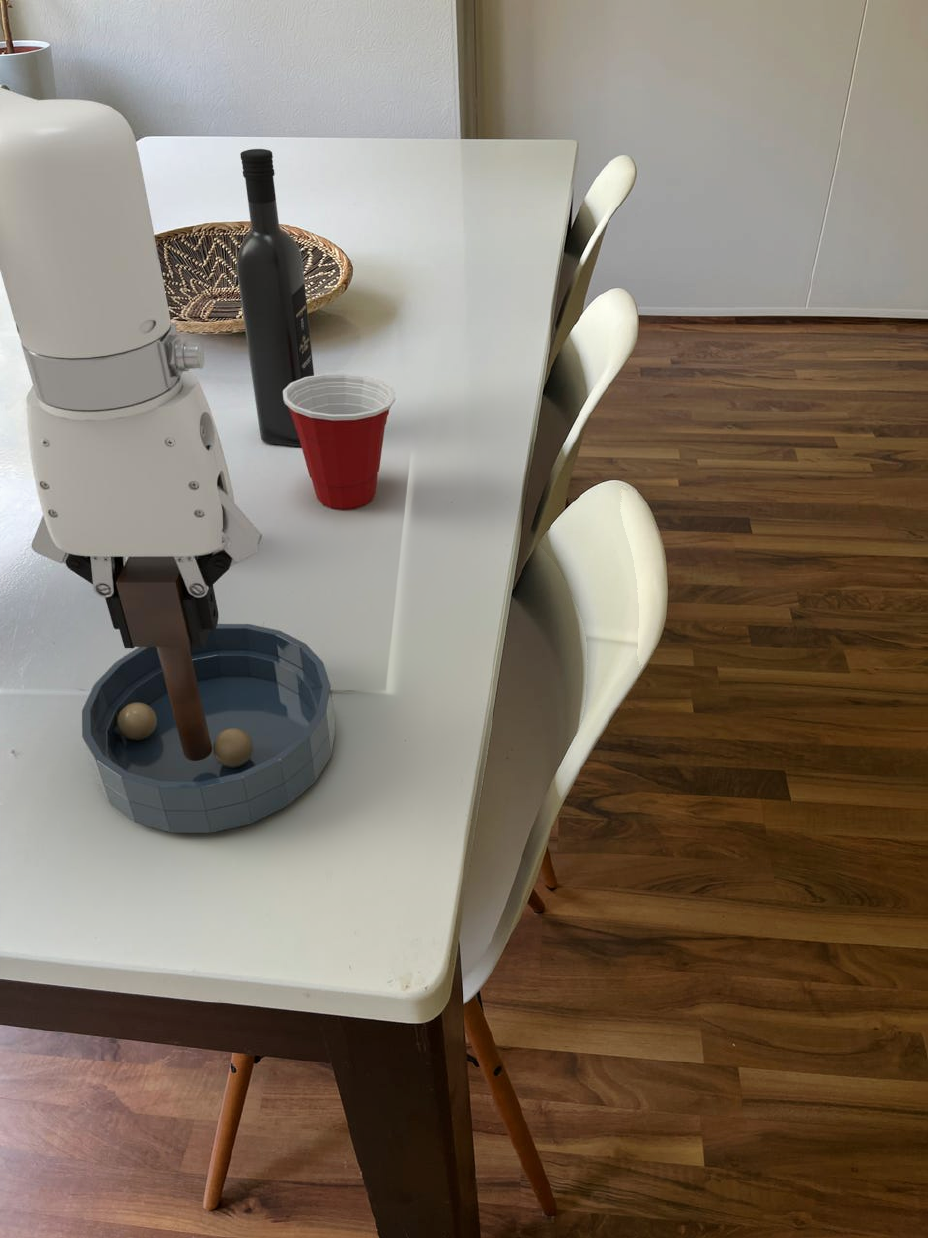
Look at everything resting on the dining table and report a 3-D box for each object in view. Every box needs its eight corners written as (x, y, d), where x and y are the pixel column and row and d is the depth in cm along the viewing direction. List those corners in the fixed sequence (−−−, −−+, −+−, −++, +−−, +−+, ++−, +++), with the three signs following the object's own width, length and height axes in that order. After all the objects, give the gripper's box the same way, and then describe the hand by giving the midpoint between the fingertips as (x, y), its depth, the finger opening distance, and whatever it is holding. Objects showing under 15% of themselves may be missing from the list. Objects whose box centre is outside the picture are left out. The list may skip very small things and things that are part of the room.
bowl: (65, 838, 67) (46, 787, 64) (135, 671, 80) (121, 623, 77) (319, 839, 66) (312, 788, 63) (346, 672, 80) (341, 623, 77)
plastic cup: (422, 498, 102) (418, 389, 94) (340, 538, 96) (329, 426, 88) (355, 462, 108) (347, 357, 101) (274, 498, 102) (259, 389, 95)
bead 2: (209, 773, 70) (209, 745, 68) (216, 745, 72) (217, 717, 71) (248, 778, 70) (250, 750, 69) (255, 749, 73) (257, 722, 71)
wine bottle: (322, 426, 115) (294, 146, 96) (306, 449, 110) (273, 160, 92) (276, 421, 116) (239, 143, 97) (258, 444, 111) (216, 157, 93)
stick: (166, 769, 69) (115, 582, 59) (178, 733, 71) (132, 548, 62) (218, 769, 69) (175, 582, 59) (228, 733, 71) (189, 548, 62)
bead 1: (146, 715, 71) (167, 734, 73) (139, 688, 73) (160, 708, 75) (112, 735, 71) (134, 754, 73) (106, 708, 73) (128, 727, 75)
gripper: (272, 337, 55) (306, 600, 66) (-23, 337, 55) (61, 600, 67) (248, 395, 49) (290, 673, 61) (-82, 395, 49) (20, 673, 61)
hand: (169, 632), depth 63 cm, fingers closed on stick, 3 cm apart
